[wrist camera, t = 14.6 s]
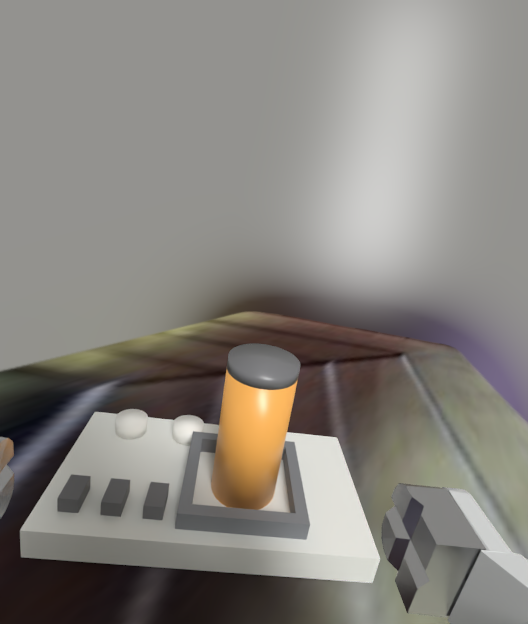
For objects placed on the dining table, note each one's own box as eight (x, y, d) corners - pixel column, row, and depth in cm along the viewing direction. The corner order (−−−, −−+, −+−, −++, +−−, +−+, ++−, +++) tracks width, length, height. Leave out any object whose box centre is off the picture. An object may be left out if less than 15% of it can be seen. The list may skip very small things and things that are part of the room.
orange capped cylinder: (209, 509, 26) (227, 373, 23) (212, 461, 30) (228, 340, 27) (277, 513, 26) (305, 381, 23) (271, 465, 31) (295, 347, 27)
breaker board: (20, 557, 23) (19, 513, 22) (94, 431, 34) (95, 399, 33) (372, 583, 25) (385, 544, 24) (332, 456, 36) (339, 426, 35)
